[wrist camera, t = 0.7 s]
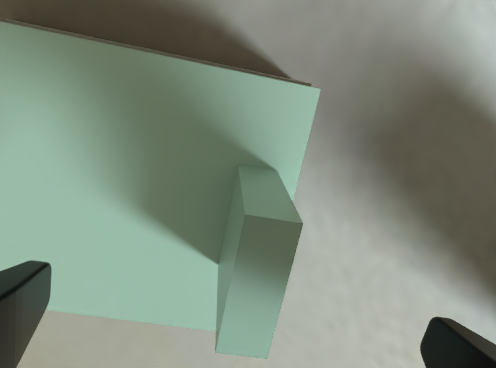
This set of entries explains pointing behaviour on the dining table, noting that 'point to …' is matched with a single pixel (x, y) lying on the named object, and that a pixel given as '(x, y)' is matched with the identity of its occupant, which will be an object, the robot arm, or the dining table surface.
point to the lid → (151, 184)
